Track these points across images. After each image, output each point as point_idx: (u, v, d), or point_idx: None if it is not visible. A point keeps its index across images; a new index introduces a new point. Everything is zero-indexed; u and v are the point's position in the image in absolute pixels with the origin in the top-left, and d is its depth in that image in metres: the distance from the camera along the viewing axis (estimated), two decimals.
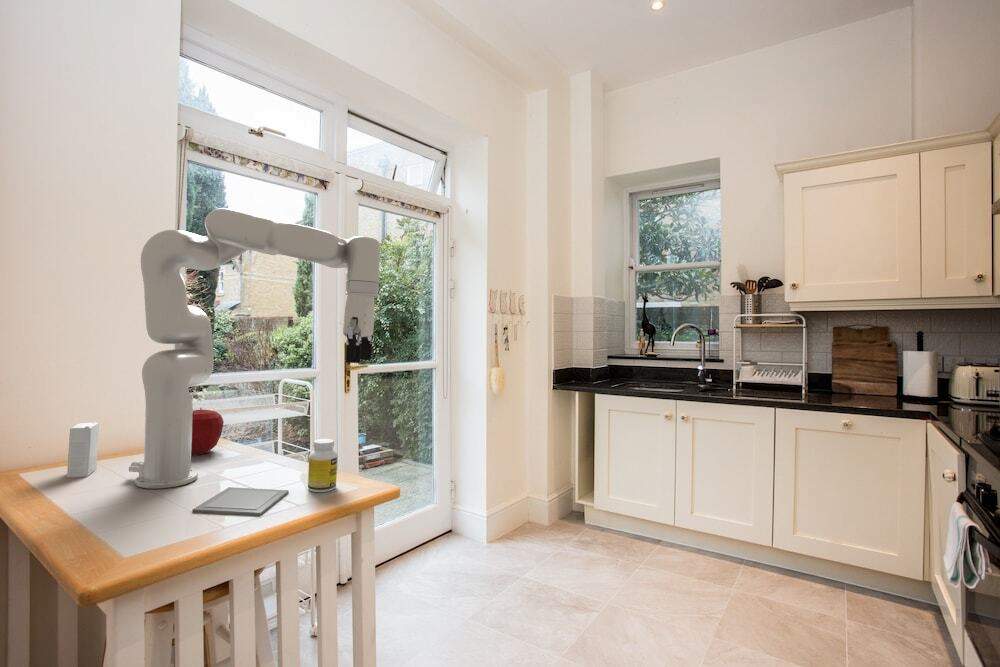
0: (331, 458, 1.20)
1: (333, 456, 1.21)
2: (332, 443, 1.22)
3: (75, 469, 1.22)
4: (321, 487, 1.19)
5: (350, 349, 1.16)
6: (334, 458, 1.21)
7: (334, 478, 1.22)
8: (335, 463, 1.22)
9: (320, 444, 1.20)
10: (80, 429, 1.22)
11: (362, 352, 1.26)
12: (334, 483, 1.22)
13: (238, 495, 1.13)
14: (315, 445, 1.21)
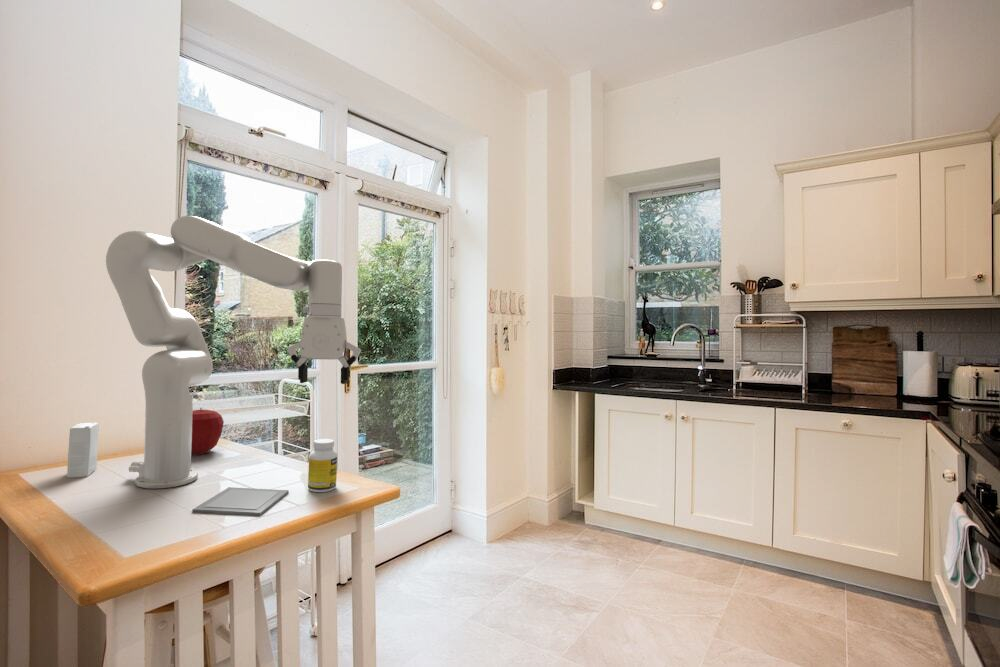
0: (331, 458, 1.20)
1: (333, 456, 1.21)
2: (332, 443, 1.22)
3: (75, 469, 1.22)
4: (321, 487, 1.19)
5: (348, 370, 1.23)
6: (334, 458, 1.21)
7: (334, 478, 1.22)
8: (335, 463, 1.22)
9: (320, 444, 1.20)
10: (80, 429, 1.22)
11: (304, 375, 1.22)
12: (334, 483, 1.22)
13: (238, 495, 1.13)
14: (315, 445, 1.21)
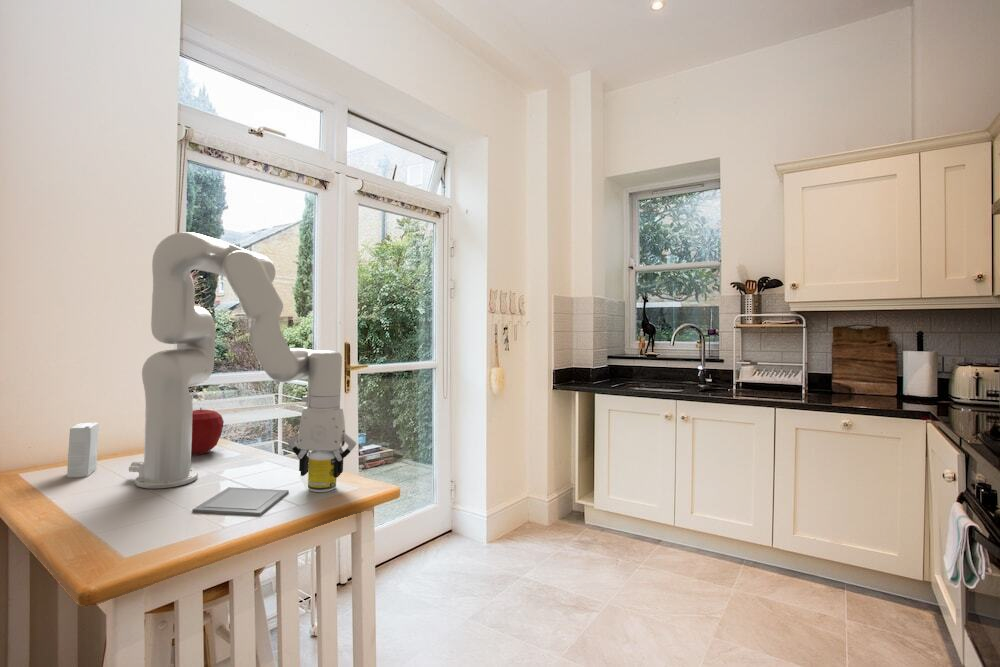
0: (331, 458, 1.20)
1: (333, 456, 1.21)
2: None
3: (75, 469, 1.22)
4: (321, 487, 1.19)
5: (341, 463, 1.22)
6: (334, 458, 1.21)
7: (334, 478, 1.22)
8: None
9: None
10: (80, 429, 1.22)
11: (305, 467, 1.22)
12: (334, 483, 1.22)
13: (238, 495, 1.13)
14: None
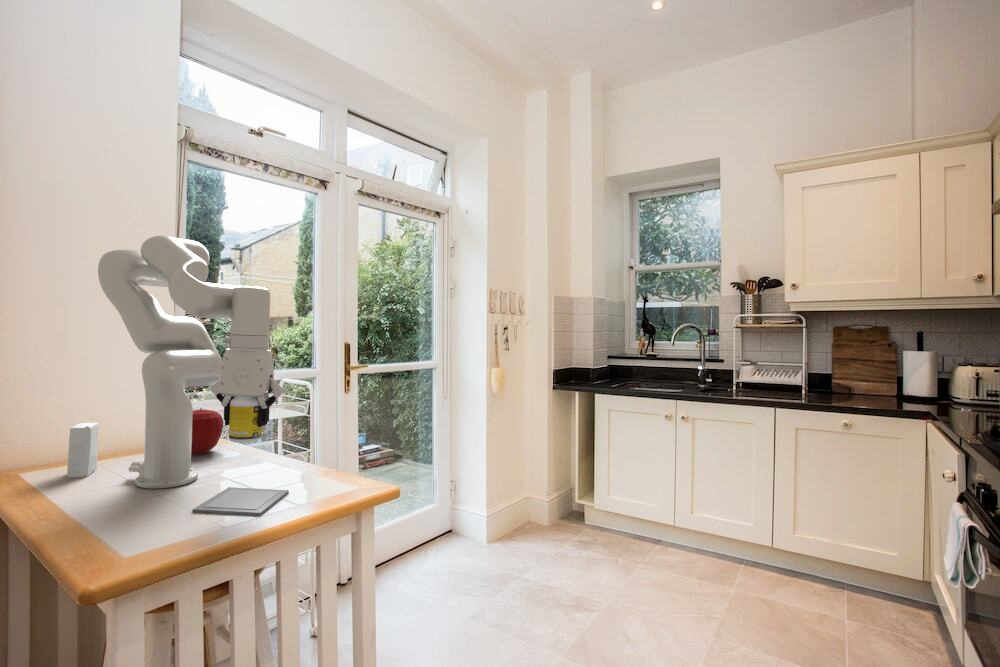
0: (254, 405, 1.09)
1: (257, 403, 1.10)
2: None
3: (75, 469, 1.22)
4: (242, 436, 1.08)
5: (267, 412, 1.11)
6: (258, 405, 1.10)
7: (258, 428, 1.11)
8: None
9: None
10: (80, 429, 1.22)
11: None
12: (258, 433, 1.11)
13: (238, 495, 1.13)
14: None
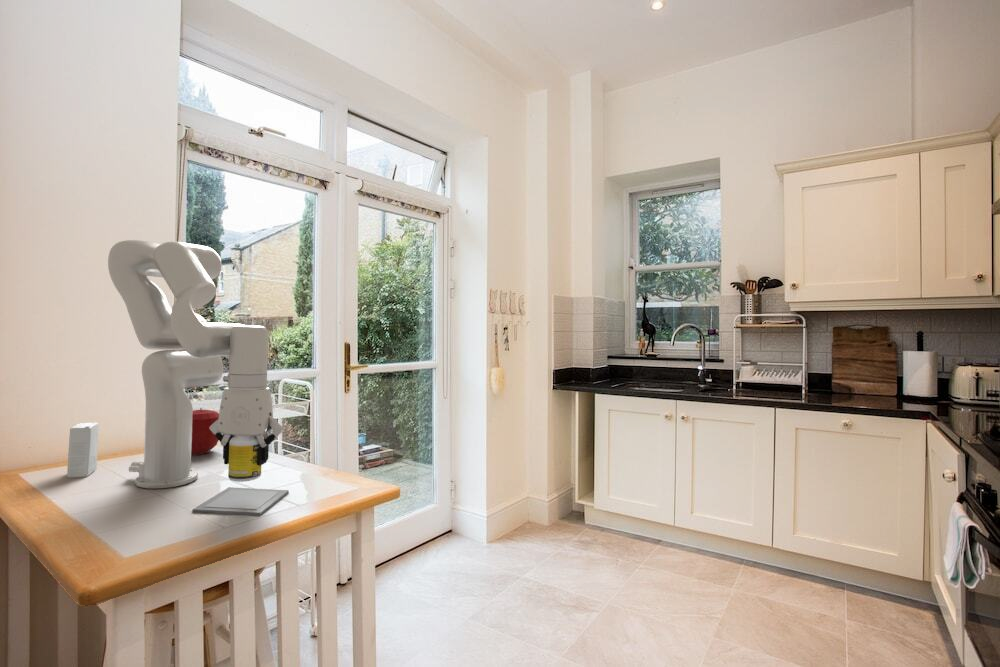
0: (253, 444, 1.09)
1: (256, 441, 1.10)
2: None
3: (75, 469, 1.22)
4: (242, 476, 1.08)
5: (266, 450, 1.11)
6: (257, 443, 1.10)
7: (257, 466, 1.11)
8: None
9: None
10: (80, 429, 1.22)
11: None
12: (258, 472, 1.11)
13: (238, 495, 1.13)
14: None
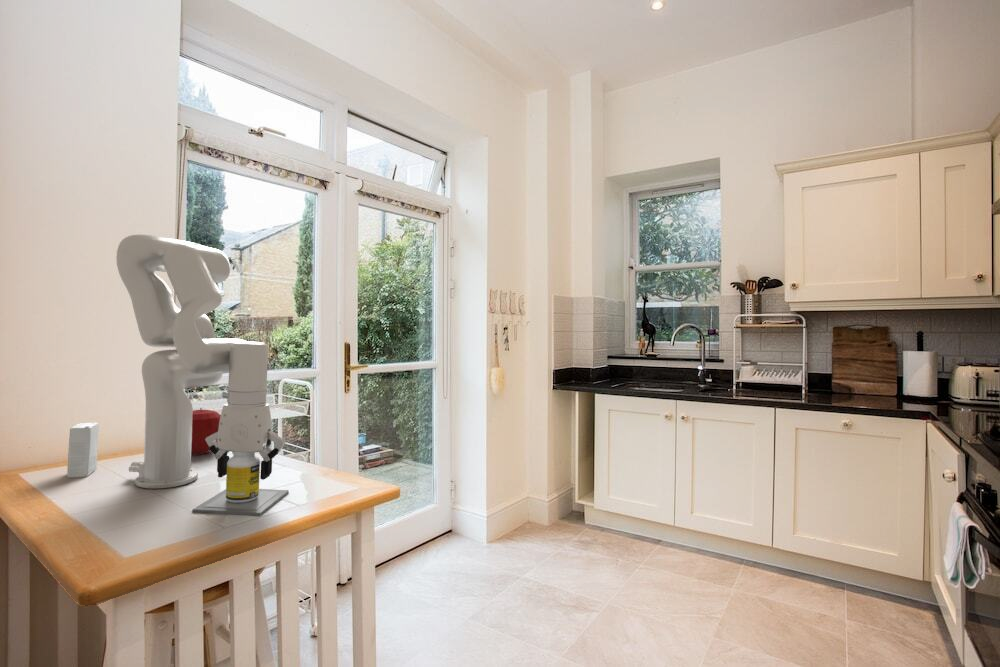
0: (250, 466, 1.09)
1: (254, 463, 1.10)
2: None
3: (75, 469, 1.22)
4: (239, 497, 1.08)
5: (269, 464, 1.11)
6: (255, 465, 1.10)
7: (255, 487, 1.11)
8: (256, 471, 1.11)
9: None
10: (80, 429, 1.22)
11: (224, 468, 1.11)
12: (255, 493, 1.11)
13: None
14: None
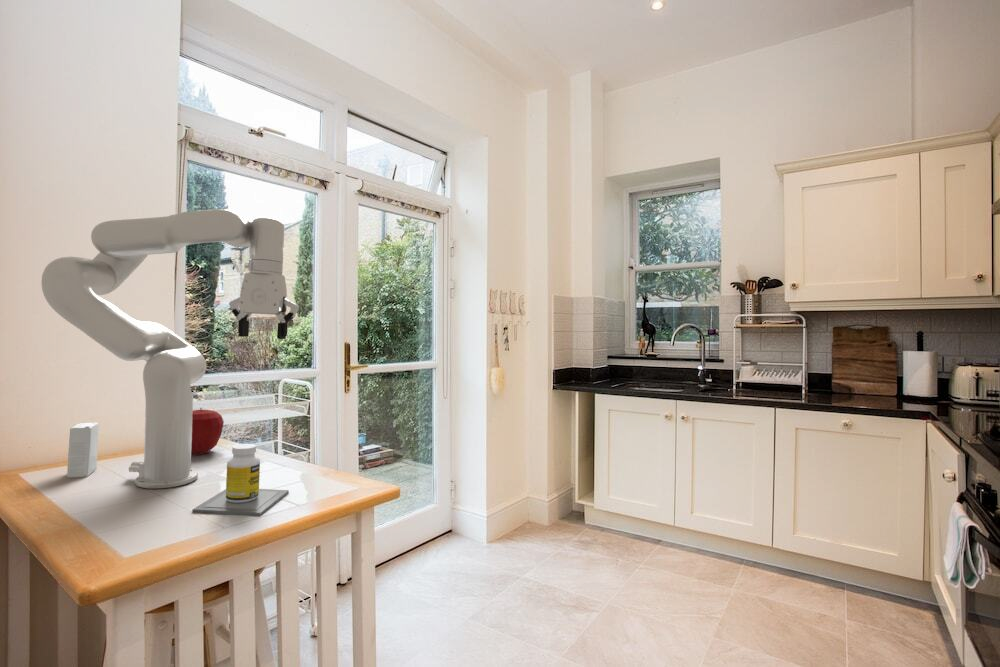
0: (250, 466, 1.09)
1: (254, 463, 1.10)
2: (253, 449, 1.11)
3: (75, 469, 1.22)
4: (239, 497, 1.08)
5: (285, 326, 1.25)
6: (255, 465, 1.10)
7: (255, 487, 1.11)
8: (256, 471, 1.11)
9: (238, 450, 1.09)
10: (80, 429, 1.22)
11: (244, 329, 1.26)
12: (255, 493, 1.11)
13: None
14: (233, 451, 1.10)
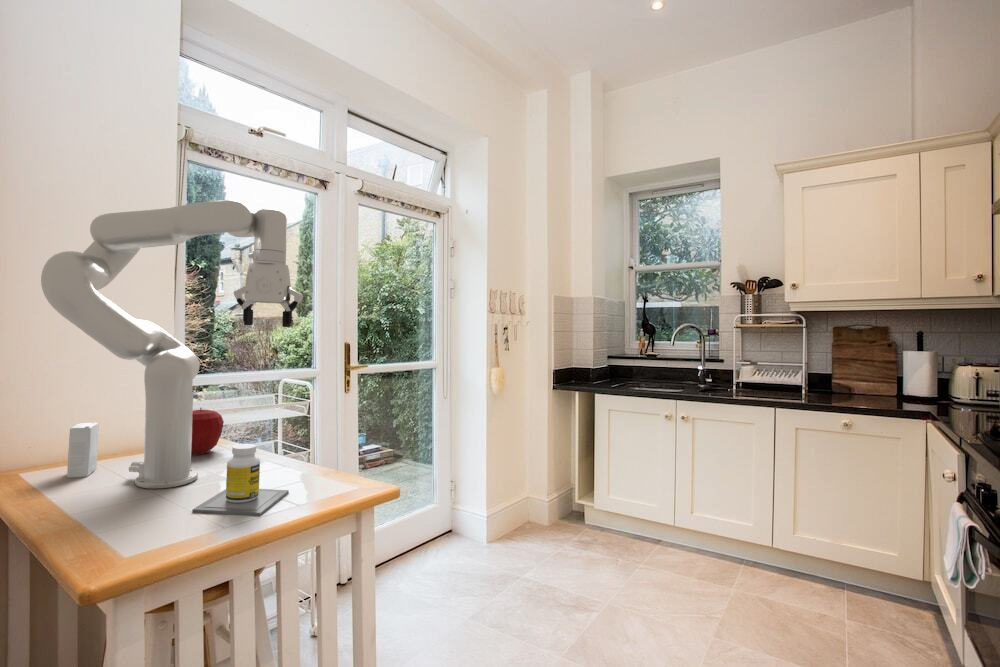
0: (250, 466, 1.09)
1: (254, 463, 1.10)
2: (253, 449, 1.11)
3: (75, 469, 1.22)
4: (239, 497, 1.08)
5: (290, 314, 1.29)
6: (255, 465, 1.10)
7: (255, 487, 1.11)
8: (256, 471, 1.11)
9: (238, 450, 1.09)
10: (80, 429, 1.22)
11: (249, 318, 1.29)
12: (255, 493, 1.11)
13: None
14: (233, 451, 1.10)
